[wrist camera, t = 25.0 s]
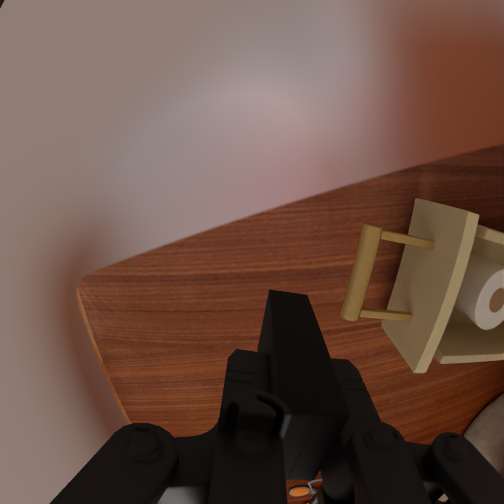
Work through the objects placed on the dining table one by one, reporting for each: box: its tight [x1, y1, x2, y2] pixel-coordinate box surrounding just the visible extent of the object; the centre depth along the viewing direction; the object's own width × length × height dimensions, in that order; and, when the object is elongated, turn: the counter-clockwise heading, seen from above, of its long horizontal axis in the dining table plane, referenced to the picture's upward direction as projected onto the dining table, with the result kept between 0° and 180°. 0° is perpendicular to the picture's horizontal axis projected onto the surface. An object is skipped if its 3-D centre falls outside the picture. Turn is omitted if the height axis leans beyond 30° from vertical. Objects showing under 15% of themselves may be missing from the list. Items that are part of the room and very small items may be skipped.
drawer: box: [340, 198, 504, 373], centre depth 22 cm, size 24×12×8 cm, turn 81°
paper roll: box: [454, 252, 504, 330], centre depth 22 cm, size 6×6×6 cm
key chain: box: [289, 478, 322, 504], centre depth 36 cm, size 13×7×1 cm, turn 11°
